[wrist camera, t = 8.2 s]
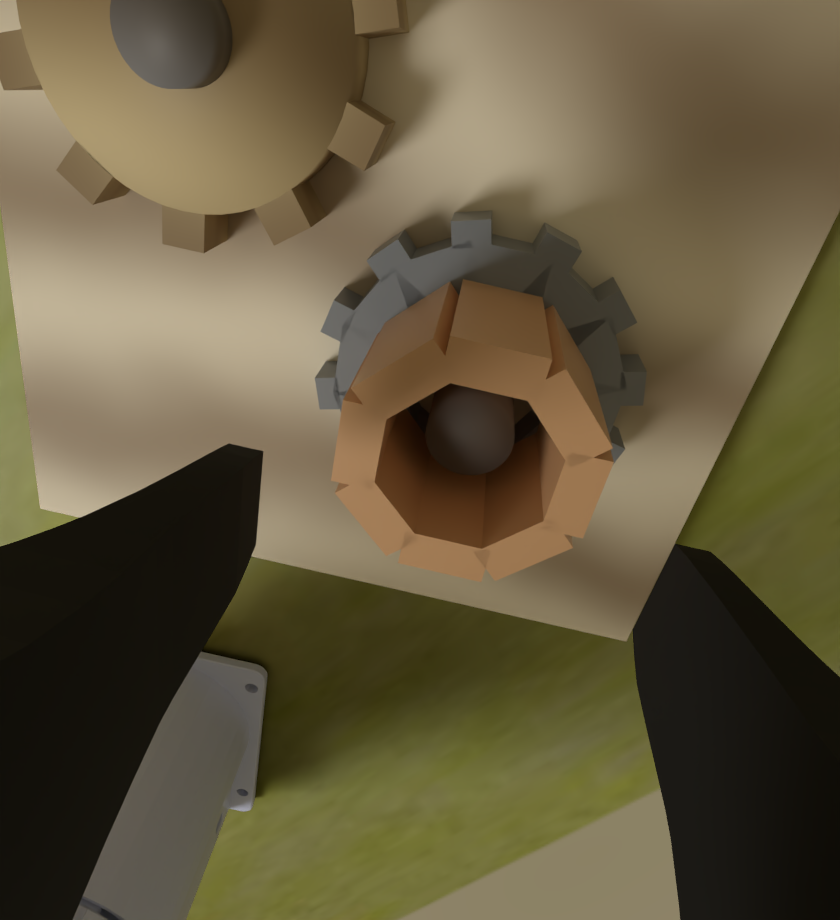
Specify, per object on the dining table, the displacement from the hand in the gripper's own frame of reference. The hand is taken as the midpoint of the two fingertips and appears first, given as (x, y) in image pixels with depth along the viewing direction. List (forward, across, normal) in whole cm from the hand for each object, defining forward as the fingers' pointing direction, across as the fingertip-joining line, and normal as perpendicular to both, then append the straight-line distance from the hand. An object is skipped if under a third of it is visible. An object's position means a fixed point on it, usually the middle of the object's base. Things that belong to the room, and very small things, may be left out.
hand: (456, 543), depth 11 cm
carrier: (+8, +3, -2) cm, 9 cm away
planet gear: (+7, 0, 0) cm, 7 cm away
